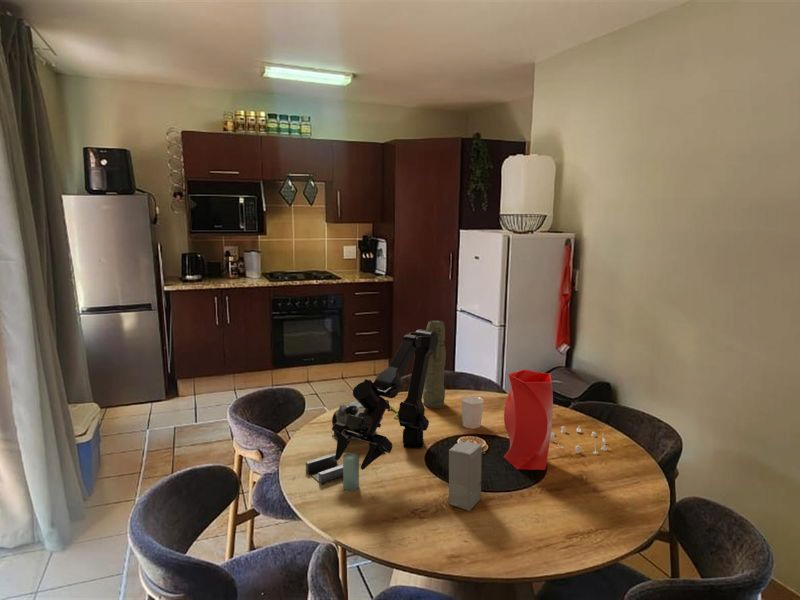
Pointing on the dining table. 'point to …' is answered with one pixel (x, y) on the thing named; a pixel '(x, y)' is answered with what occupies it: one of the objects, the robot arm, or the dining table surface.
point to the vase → (529, 419)
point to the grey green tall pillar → (435, 369)
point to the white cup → (472, 411)
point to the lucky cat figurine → (344, 410)
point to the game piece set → (578, 445)
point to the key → (395, 411)
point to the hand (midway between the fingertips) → (348, 464)
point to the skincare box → (465, 474)
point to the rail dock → (325, 469)
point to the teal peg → (350, 471)
